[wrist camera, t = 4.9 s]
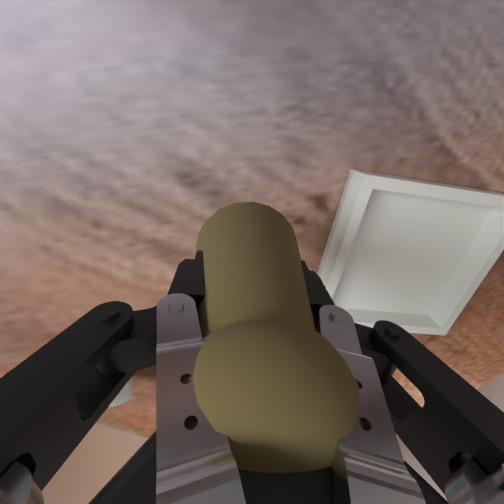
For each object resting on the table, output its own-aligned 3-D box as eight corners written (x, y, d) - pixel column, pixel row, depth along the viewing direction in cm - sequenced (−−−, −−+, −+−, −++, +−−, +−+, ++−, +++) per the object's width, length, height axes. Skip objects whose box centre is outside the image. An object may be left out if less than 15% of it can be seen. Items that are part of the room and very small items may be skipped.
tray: (350, 168, 22) (365, 174, 19) (503, 192, 24) (536, 201, 21) (306, 307, 29) (313, 325, 27) (427, 317, 31) (445, 335, 28)
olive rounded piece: (231, 305, 17) (227, 563, 7) (174, 235, 14) (41, 497, 4) (312, 264, 15) (443, 504, 6) (267, 180, 13) (374, 367, 3)
